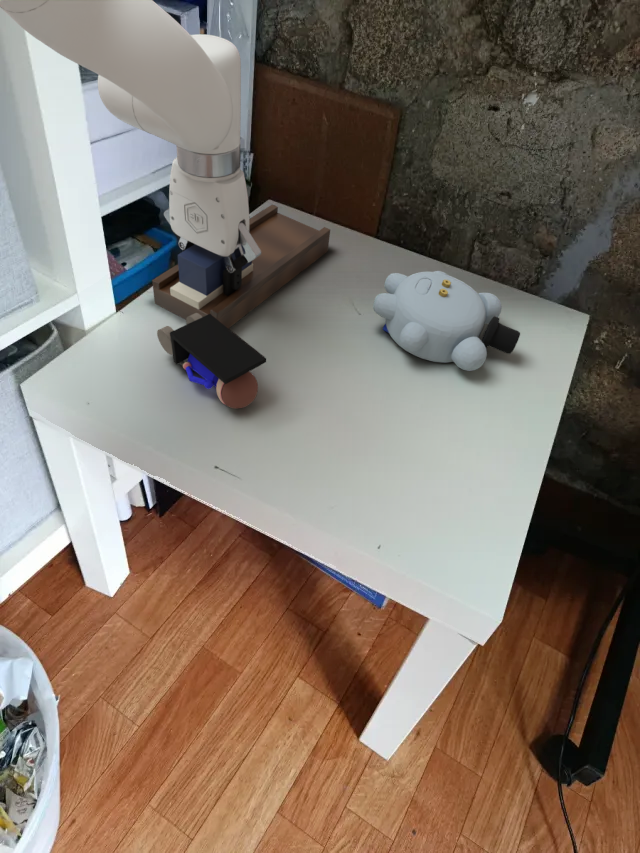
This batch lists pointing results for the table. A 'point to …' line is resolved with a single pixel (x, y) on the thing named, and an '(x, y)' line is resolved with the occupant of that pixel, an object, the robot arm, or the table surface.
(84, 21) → the robot arm
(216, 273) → the blue milk carton
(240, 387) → the figurine character
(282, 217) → the brown wooden tray
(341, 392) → the table surface
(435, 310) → the figurine
